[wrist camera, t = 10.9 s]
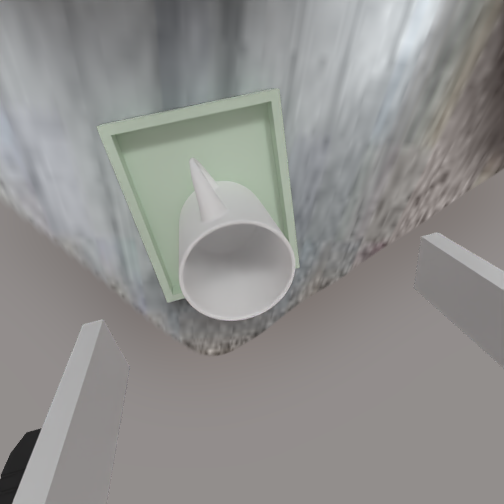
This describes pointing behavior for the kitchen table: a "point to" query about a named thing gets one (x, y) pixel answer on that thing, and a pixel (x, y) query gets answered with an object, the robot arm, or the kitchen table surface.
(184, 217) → the mug
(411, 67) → the kitchen table surface
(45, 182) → the kitchen table surface
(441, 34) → the kitchen table surface
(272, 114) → the tray
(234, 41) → the kitchen table surface
